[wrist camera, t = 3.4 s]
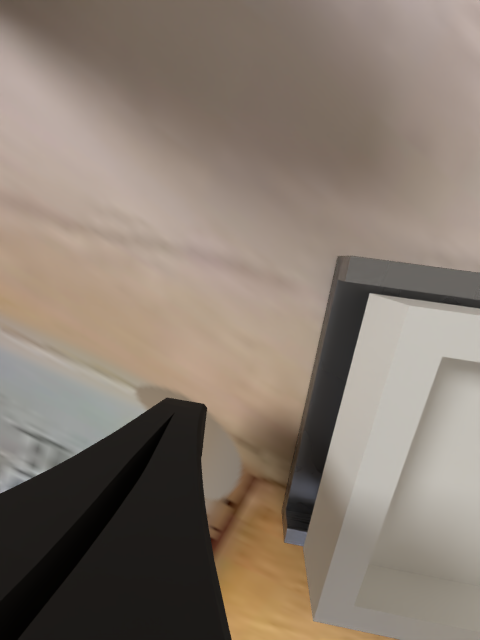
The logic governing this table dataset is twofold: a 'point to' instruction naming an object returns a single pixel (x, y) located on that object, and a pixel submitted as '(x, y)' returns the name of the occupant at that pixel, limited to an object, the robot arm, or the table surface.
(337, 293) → the track
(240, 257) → the table surface
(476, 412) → the white shallow tray
